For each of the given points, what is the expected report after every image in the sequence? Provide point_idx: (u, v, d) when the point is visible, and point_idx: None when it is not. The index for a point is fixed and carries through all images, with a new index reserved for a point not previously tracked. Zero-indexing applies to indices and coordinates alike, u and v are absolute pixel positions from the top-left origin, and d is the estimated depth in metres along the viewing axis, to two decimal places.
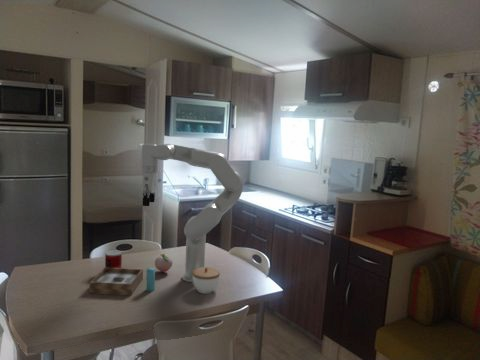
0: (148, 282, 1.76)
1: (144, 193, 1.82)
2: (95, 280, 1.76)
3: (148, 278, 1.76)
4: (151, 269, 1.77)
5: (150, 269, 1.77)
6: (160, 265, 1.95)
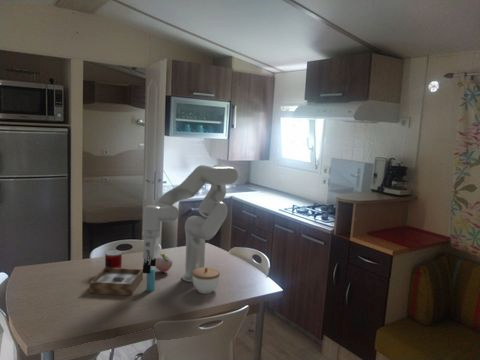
0: (148, 282, 1.76)
1: (145, 261, 1.68)
2: (95, 280, 1.76)
3: (148, 278, 1.76)
4: (151, 269, 1.77)
5: (150, 269, 1.77)
6: (160, 265, 1.95)
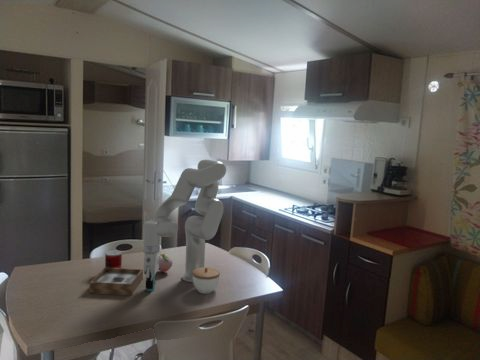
0: None
1: (147, 278, 1.72)
2: (95, 280, 1.76)
3: None
4: None
5: None
6: (160, 265, 1.95)
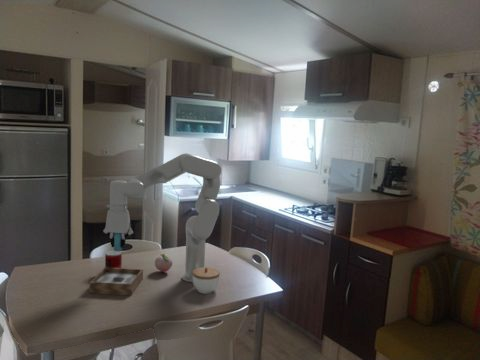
0: None
1: None
2: (95, 280, 1.76)
3: None
4: None
5: None
6: (160, 265, 1.95)
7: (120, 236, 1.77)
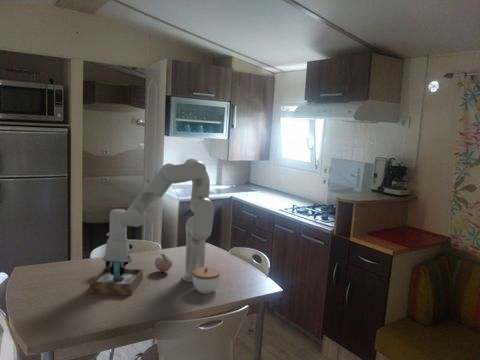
0: None
1: None
2: (95, 280, 1.76)
3: None
4: None
5: None
6: (160, 265, 1.95)
7: (119, 264, 1.79)
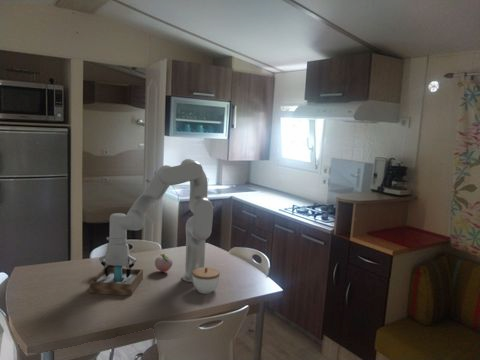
0: None
1: None
2: (95, 280, 1.76)
3: None
4: None
5: None
6: (160, 265, 1.95)
7: (120, 272, 1.79)
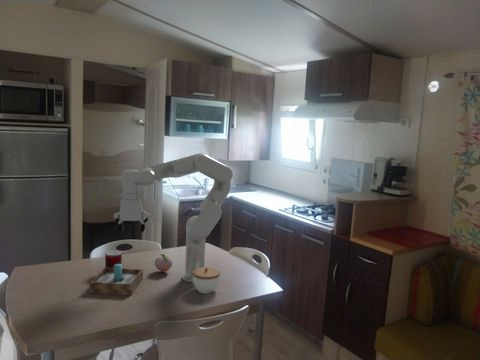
0: None
1: None
2: (95, 280, 1.76)
3: None
4: (116, 265, 1.79)
5: (117, 265, 1.80)
6: (160, 265, 1.95)
7: (120, 272, 1.79)
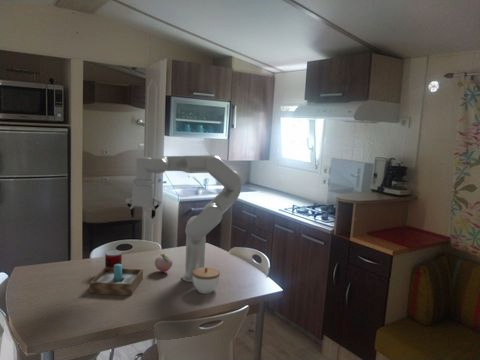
0: None
1: None
2: (95, 280, 1.76)
3: None
4: (116, 265, 1.79)
5: (117, 265, 1.80)
6: (160, 265, 1.95)
7: (120, 272, 1.79)
